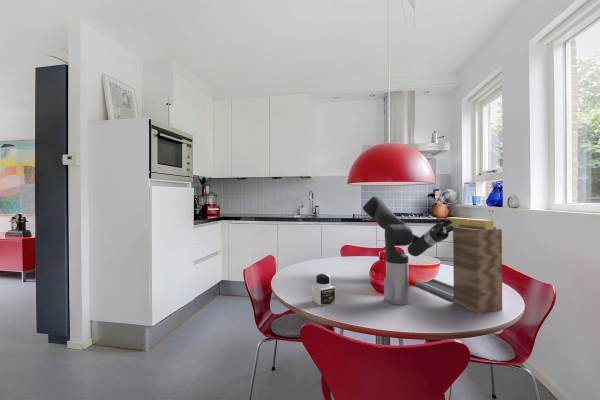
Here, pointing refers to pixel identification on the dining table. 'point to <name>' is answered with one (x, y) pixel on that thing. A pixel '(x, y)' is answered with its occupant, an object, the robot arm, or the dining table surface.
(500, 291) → the stand
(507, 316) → the dining table surface
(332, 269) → the dining table surface
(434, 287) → the tray
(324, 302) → the medicine bottle
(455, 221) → the bar
